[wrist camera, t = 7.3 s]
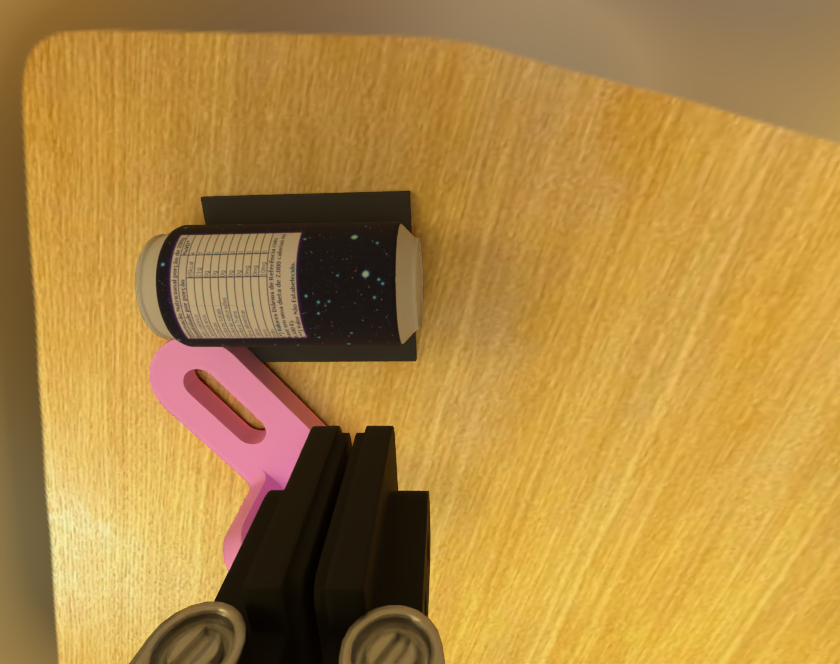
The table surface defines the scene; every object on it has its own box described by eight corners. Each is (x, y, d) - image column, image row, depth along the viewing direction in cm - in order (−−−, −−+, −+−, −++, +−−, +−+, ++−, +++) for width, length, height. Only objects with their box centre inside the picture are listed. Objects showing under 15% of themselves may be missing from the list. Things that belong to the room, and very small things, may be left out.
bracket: (367, 466, 31) (344, 558, 25) (302, 508, 33) (265, 605, 26) (206, 307, 27) (131, 367, 21) (143, 364, 29) (55, 435, 23)
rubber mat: (203, 196, 26) (200, 197, 25) (409, 191, 25) (409, 191, 25) (233, 359, 29) (231, 362, 29) (416, 359, 28) (416, 361, 28)
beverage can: (419, 195, 23) (163, 200, 24) (412, 281, 19) (109, 284, 20) (425, 286, 27) (207, 288, 28) (420, 371, 24) (170, 371, 24)
